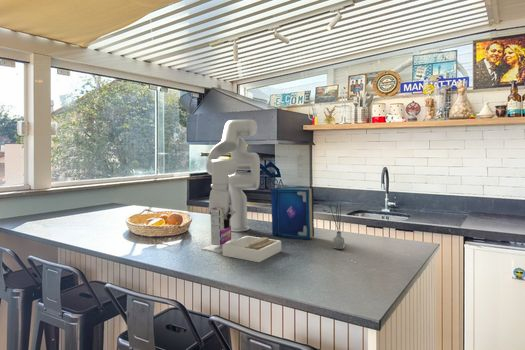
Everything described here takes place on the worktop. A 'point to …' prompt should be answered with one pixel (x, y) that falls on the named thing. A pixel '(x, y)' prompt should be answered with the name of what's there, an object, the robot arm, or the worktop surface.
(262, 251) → the box
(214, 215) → the candy bar box
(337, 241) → the reed diffuser
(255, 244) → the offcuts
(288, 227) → the book
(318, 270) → the worktop surface
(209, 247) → the mat
